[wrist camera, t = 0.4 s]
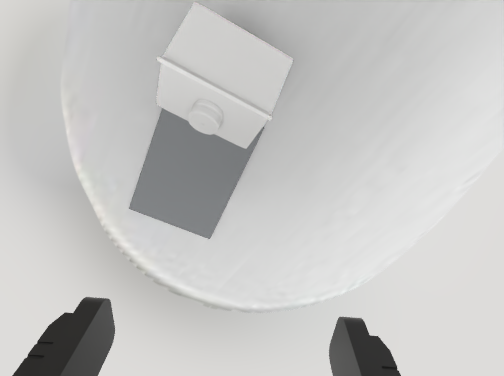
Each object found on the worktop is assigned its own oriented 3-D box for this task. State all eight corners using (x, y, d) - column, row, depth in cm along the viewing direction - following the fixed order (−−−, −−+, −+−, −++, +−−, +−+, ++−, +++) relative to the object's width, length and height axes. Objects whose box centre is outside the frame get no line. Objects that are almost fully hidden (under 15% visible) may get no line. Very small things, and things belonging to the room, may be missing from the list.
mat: (171, 84, 34) (170, 84, 34) (263, 127, 37) (264, 127, 36) (129, 207, 41) (128, 208, 41) (209, 237, 44) (209, 239, 43)
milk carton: (218, 21, 32) (180, -12, 15) (276, 55, 33) (304, 60, 16) (193, 83, 35) (135, 117, 17) (247, 112, 36) (244, 169, 19)
